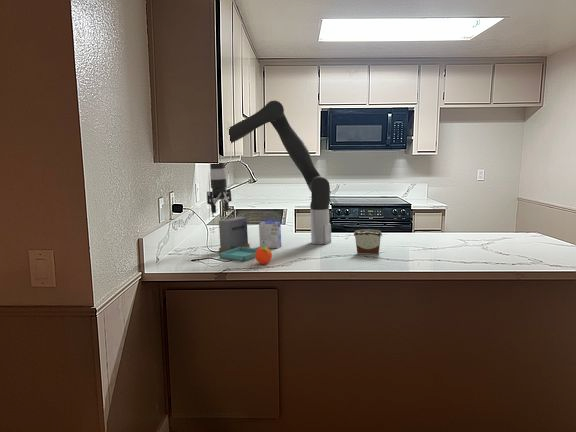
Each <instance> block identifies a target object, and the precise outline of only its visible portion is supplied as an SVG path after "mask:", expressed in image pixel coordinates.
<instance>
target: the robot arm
mask: <svg viewBox="0 0 576 432" xmlns="http://www.w3.org/2000/svg"><path fill="white" fill-rule="evenodd" d="M267 123H268V124H269V123H270V124H271V125H272V127H273V128H274V129H275V131H276V132H277V134H278V136H279V139H280V141H281V142H282V145H283V147H284V148H285V150H286V153H287V154H288V155H289V158H291V160H292V162H293V163H294V165H295V167H297V169H298V170H299V171H300V173H301V175H302V176H303V179H304V180H305V183H306V185H307V187H308V189H309V191H310V192H311V195H310V196H311V200H310V204H309V205H310V207H309V208H310V236H311V237H310V240H311V241H310V242H311V244H313V245H328V244H330V243H332V224H331V223H330V202H331V186H330V182H329V180H328V179H327V178H326V177H325V176H324V177H323V176H322V175H321V174H320V172H319V171H318V170H317V168H316V167H315V165H314V162H313V159H312V156H311V153H310V151H309V148H308V147H307V145H306V144H305V142H304V141H303V139H302V138H301V136H300V135H299V134H298V132H297V131H296V129H295V128H293V126H292V125H291V124H290V122H289V120H288V118H287V117H286V114H285V107H284V104H283V103H282V102H281V101H278V100H271V101H268V102H267V103H266V105H265V106H263V107H262V108H261V109H260V110H258V111H256V112H255V113H253V114H251V115H250V116H249V117H246V118H245V119H243V120H240V121H239V122H237V123H235V124H233V125H231V126H230V127H229V128H230V129H229V135H230V141H231V144H233V143H234V142H237V141H239V140H241V139H243V138H244V137H247V136H248V135H249V134H251V133H252V132H253V131H255V130H256V129H258V128H260V127H262V126H263V125H267ZM209 168H210V169H209V171H210V172H209V173H210V175H209V178H210V189H212V191H206V200H207V201H206V202H207V203H206V204H207V205H210V211H211V213H212V214H216V213H217V202H218V201H221V200H222V201H223V210H224V212H228V211H229V208H230V207H229V206H230V205H229V203H230V202H232V201H233V200H232V191H231V189H230V188H229V189H227V187H228V185H227V173H226V172H227V171H226V162H225V163H219V164H210V163H209Z"/></svg>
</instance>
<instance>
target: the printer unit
mask: <svg viewBox="0 0 576 432" xmlns="http://www.w3.org/2000/svg"><path fill="white" fill-rule="evenodd" d="M247 218H248V217H243V216H235V217H231V218H227V219H225V218H224V219H221V220H218V231H219V232H218V233H219V245H220V247H219V248H218V253H222V252H225V251H229V250H232V249H235V248H239V247H246V248H251V247H250V243H249V238H248V236H249V235H248V233H249V232H248V219H247Z"/></svg>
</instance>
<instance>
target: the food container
mask: <svg viewBox="0 0 576 432" xmlns="http://www.w3.org/2000/svg"><path fill="white" fill-rule="evenodd" d="M353 237H354V238H355V246H356V254H357V255H374V256H375V255H380V247H381V239H382V238H381V237H383V233H382V231H381V230H379V229H369V228H368V229H365V228H364V229H358V230H355V231H354V233H353Z"/></svg>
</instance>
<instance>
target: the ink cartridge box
mask: <svg viewBox="0 0 576 432" xmlns="http://www.w3.org/2000/svg"><path fill="white" fill-rule="evenodd" d="M274 219H275V218H274V217H270V216H269V217H266V220H265V221H261V222H260V223H258V234H259V248H261V247H266V248H268V249H280V248H281V247H282V229H281V221H274Z"/></svg>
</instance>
